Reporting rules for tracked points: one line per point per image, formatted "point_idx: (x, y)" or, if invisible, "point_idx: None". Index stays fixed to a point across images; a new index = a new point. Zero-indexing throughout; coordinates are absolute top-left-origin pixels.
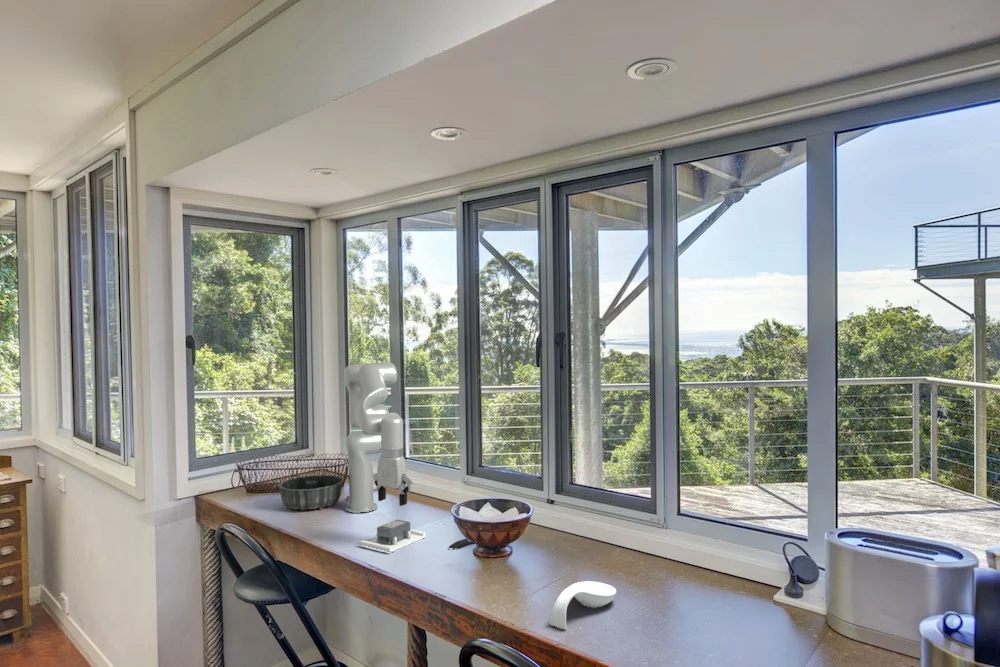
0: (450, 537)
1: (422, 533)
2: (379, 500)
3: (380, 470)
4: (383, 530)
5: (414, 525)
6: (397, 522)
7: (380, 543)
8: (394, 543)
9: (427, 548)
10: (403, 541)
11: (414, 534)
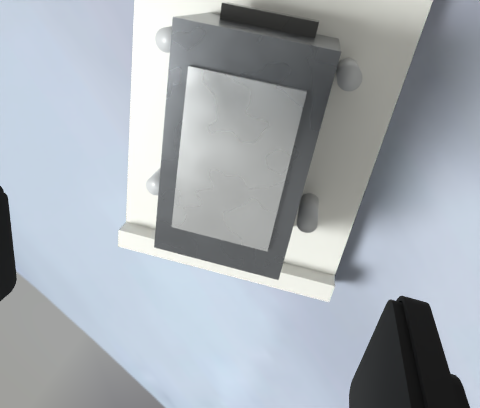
0: (36, 262)
1: (124, 230)
2: (402, 300)
3: None
4: (259, 32)
5: (289, 372)
6: (227, 212)
7: None
8: None
9: (22, 91)
10: None
11: None
